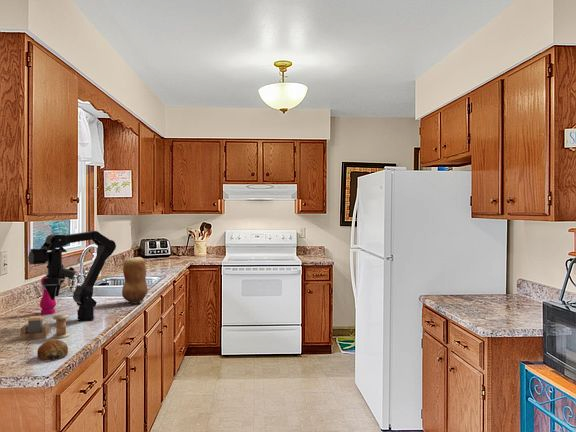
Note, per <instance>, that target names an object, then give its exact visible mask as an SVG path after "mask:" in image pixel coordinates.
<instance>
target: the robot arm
mask: <svg viewBox="0 0 576 432" xmlns="http://www.w3.org/2000/svg"><path fill="white" fill-rule="evenodd" d="M85 241H86V242H87V241H92V242H93V243H94V244H95V245H96V246H97V247H96V256H95V257H94V260H93V262H92V263H91V267H90V268H89V271H88V272H87V275H86V277H85V279H84V281H83V282H82V284H80V285H76V286H75V289H74V291H73V292H72V294H73V296H72V298H73V301H74V302H75V304H76V306H78V309H77V310H76V311H77V321H78V322H84V321H85V322H86V321H87V322H88V321H94V320H95V308H96V307H97V301H96V300H95V299H94V298H93V294H94V286H95V283H96V282H97V280H98V278H99V276H100V273H101V272H102V269H103V267H104V265H105V263H106V261H107V259H108V258H110V256H112V254H113V253H114V252H115V250H116V249H117V243H116V242H115V240H112V239H110V238H109V237H106V236H105V235H103V234H102V233H100V231H97V230H90V231H84V232H77V233H71V234H52V233H51V234H48V235H47V236H46V238H45V241H44V243H43V244H42V246H41V247H40V248H30V251H29V253H28V256H27V258H28V263H29V265H35V266H36V265H44V264H46V263H47V265H46V269H47V273H48V275H47V278H45V279H44V280H43V285H44V286H45V288H46V290H47V292H48V294H49V296H50V298H51V300H54V299H55V298H56V297H58V296H59V295H60V292H61V291H60V290H61V287H62V284H63V283H64V282H65V280H66V278H67V279H69V280H73V279H74V278H75V275H76V270H75V268H74V267H71V266H70V267H69V268H66V267H64V264H63V255H62V254H63V253H67V252H68V251H67V249H66V248H64V247H65V246H67V245H69V244H72V243H79V242H85ZM43 285H42V286H43ZM55 300H56V299H55Z"/></svg>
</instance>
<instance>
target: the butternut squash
mask: <svg viewBox="0 0 576 432" xmlns="http://www.w3.org/2000/svg"><path fill="white" fill-rule="evenodd" d="M146 268H147V267H146V262H145V259H144V258H143V257H141V256H137V257H135V256H134V257H130V258H126V259H125V260H124V261H123V265H122V272H123V278H124V283H123V286H122V289H121V290H122V291H121V295H122V297H123V299H124V300H126V301H127V302H128V303H130V304H139V303H141V302H143V301H144V299H145V297H146V296H147V294H148V292H149V291H148V290H149V288H148V285H147V281H146V279H147V278H146V277H147V269H146Z"/></svg>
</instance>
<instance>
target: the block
mask: <svg viewBox="0 0 576 432" xmlns="http://www.w3.org/2000/svg"><path fill="white" fill-rule="evenodd" d="M27 319H28V322H27V324H28V333H41V327H42V326H43V316H42V315H35V316H33V315H32V316H30V315H29V317H28V318H27Z"/></svg>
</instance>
